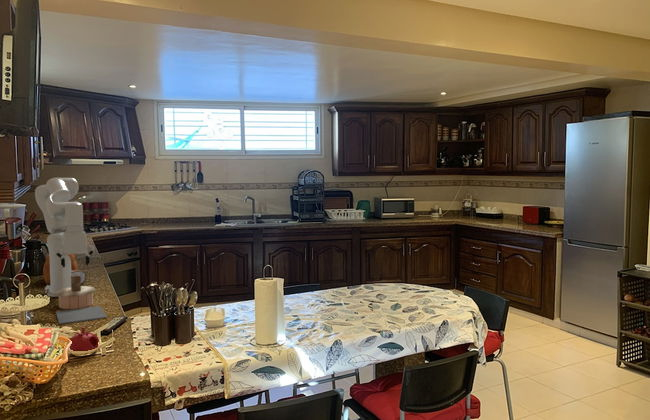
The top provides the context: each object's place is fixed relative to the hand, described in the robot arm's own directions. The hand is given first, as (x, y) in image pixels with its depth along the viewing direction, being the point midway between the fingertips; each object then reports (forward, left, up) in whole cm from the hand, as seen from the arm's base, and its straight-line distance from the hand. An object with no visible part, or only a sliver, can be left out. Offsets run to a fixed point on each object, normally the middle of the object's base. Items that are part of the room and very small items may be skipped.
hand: (75, 265), depth 228 cm
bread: (-45, +45, -19) cm, 67 cm away
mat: (+13, -14, -19) cm, 27 cm away
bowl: (0, 0, -19) cm, 19 cm away
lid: (0, 0, -13) cm, 13 cm away
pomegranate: (+45, -54, -19) cm, 73 cm away
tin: (-29, +34, -19) cm, 49 cm away
